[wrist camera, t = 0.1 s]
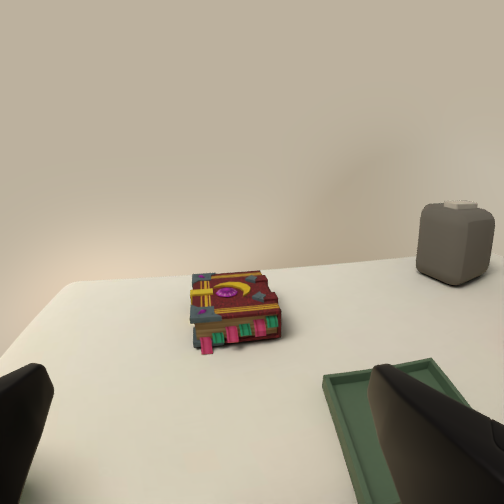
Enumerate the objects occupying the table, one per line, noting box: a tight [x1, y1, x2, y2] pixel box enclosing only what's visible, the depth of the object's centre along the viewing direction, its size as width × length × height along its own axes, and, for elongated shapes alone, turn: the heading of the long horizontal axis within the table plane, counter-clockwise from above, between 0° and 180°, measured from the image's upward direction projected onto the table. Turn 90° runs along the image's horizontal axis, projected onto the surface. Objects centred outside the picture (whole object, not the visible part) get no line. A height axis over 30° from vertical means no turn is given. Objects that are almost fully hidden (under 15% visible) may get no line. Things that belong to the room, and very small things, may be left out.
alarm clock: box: [416, 201, 495, 285], centre depth 53 cm, size 16×11×16 cm
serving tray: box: [322, 358, 471, 504], centre depth 21 cm, size 16×13×2 cm
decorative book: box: [190, 270, 281, 354], centre depth 43 cm, size 11×16×5 cm
